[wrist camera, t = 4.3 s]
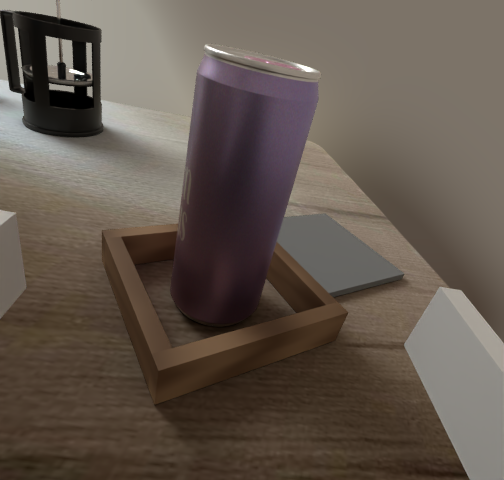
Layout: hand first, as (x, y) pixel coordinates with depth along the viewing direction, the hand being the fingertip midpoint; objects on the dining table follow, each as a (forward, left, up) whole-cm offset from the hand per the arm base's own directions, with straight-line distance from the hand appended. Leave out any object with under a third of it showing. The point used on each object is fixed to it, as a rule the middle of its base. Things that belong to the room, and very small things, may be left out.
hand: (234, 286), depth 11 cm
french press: (0, +45, -9) cm, 46 cm away
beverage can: (+5, +8, -9) cm, 13 cm away
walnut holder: (+5, +8, -9) cm, 13 cm away
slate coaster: (+17, +11, -9) cm, 22 cm away
